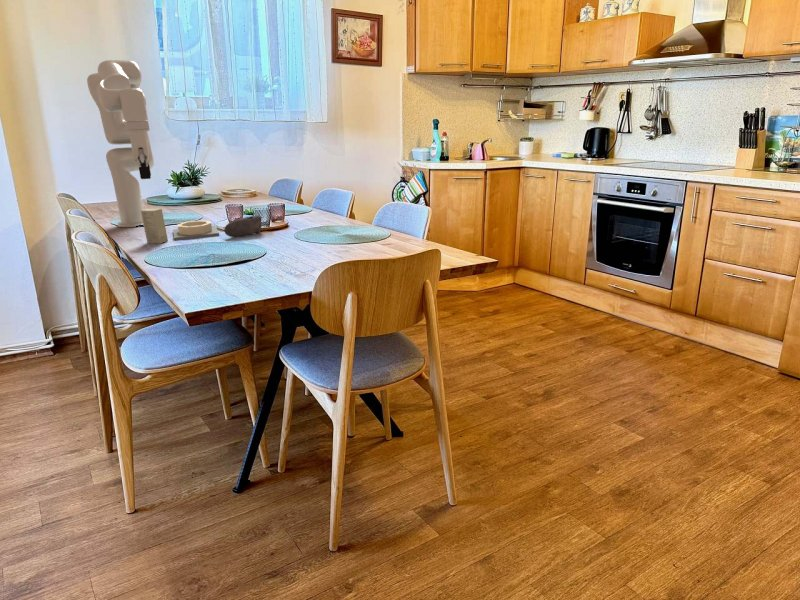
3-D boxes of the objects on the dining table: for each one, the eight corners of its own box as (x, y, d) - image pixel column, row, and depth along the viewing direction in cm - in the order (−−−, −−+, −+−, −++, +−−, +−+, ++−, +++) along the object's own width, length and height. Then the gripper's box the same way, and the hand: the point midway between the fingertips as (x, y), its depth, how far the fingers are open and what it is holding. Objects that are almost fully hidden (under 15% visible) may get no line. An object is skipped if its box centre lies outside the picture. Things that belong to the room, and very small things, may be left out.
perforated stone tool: (227, 240, 207) (224, 221, 205) (223, 237, 211) (221, 219, 209) (266, 234, 214) (264, 216, 212) (262, 232, 218) (260, 214, 216)
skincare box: (168, 241, 207) (162, 208, 203) (159, 244, 203) (154, 210, 199) (154, 240, 209) (148, 207, 205) (145, 243, 205) (140, 210, 201)
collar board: (173, 232, 222) (171, 222, 221) (215, 227, 228) (213, 218, 227) (174, 240, 208) (172, 229, 207) (219, 235, 214) (217, 225, 213)
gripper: (126, 126, 199) (135, 176, 204) (124, 127, 184) (133, 180, 189) (149, 126, 202) (157, 174, 207) (148, 126, 186) (157, 179, 192)
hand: (146, 177), depth 198 cm, fingers open, 9 cm apart
